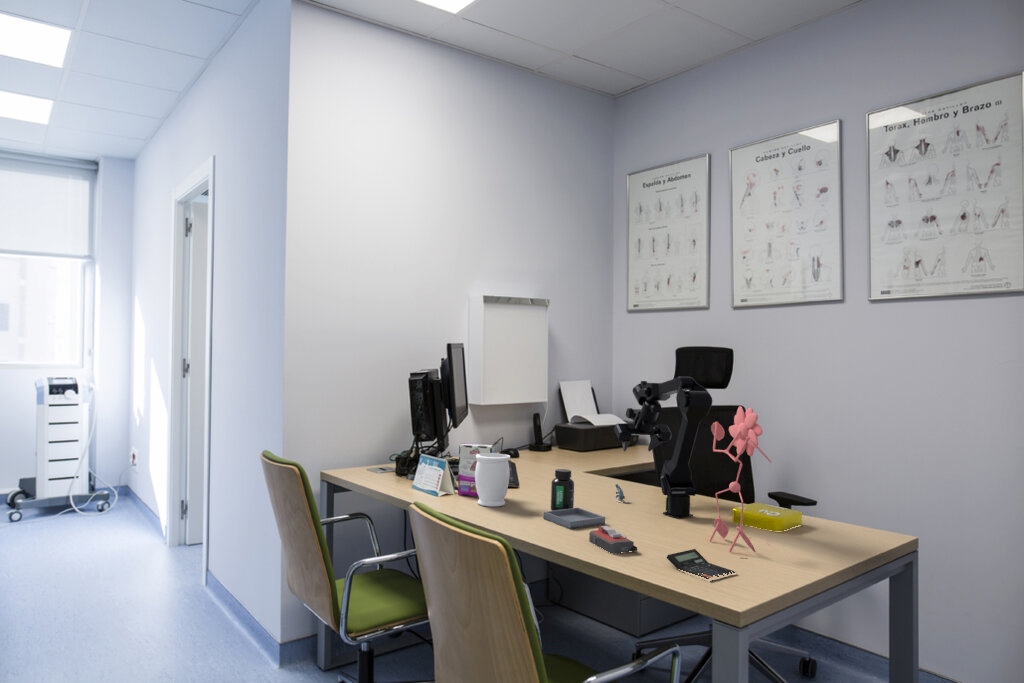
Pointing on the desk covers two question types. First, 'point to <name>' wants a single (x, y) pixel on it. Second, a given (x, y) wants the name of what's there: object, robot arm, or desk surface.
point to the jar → (492, 478)
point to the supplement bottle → (562, 490)
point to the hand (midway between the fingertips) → (636, 450)
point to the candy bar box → (470, 467)
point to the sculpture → (620, 494)
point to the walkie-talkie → (611, 540)
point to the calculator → (696, 564)
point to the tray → (574, 518)
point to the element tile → (767, 517)
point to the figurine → (743, 439)
